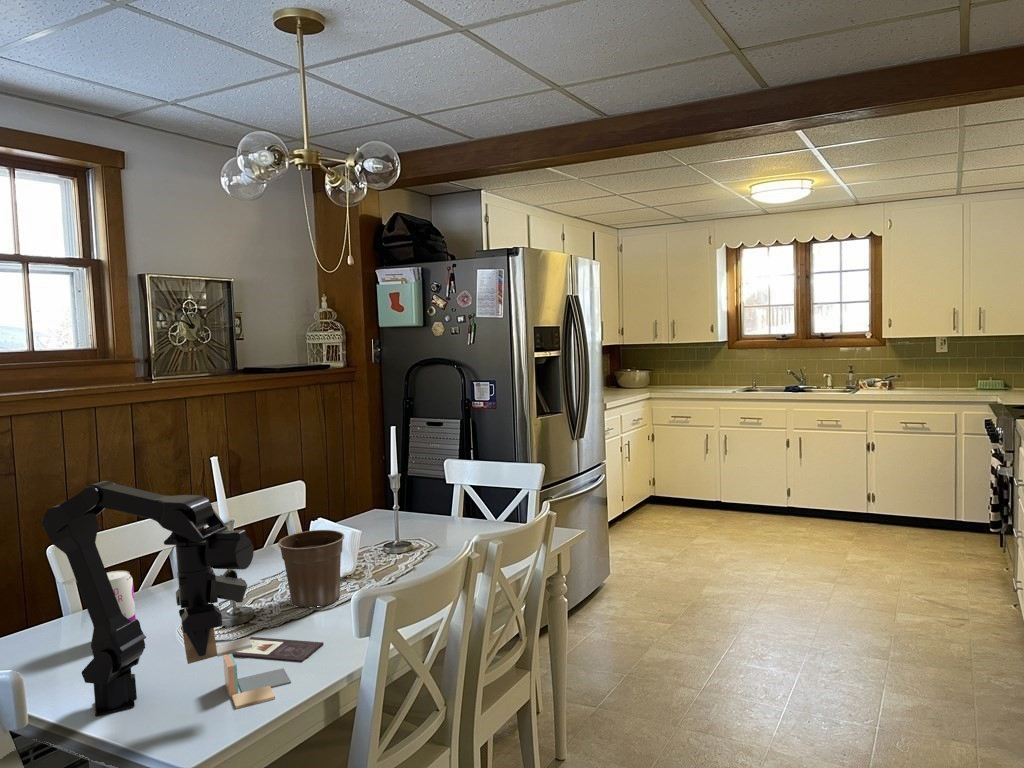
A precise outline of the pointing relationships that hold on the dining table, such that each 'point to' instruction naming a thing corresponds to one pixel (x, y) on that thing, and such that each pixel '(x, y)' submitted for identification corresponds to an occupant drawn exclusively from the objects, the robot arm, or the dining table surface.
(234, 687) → the tile
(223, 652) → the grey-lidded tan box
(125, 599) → the supplement can
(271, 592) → the dining table surface
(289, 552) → the plant pot
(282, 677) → the plate
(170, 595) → the dining table surface
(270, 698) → the rest
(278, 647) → the chocolate bar
